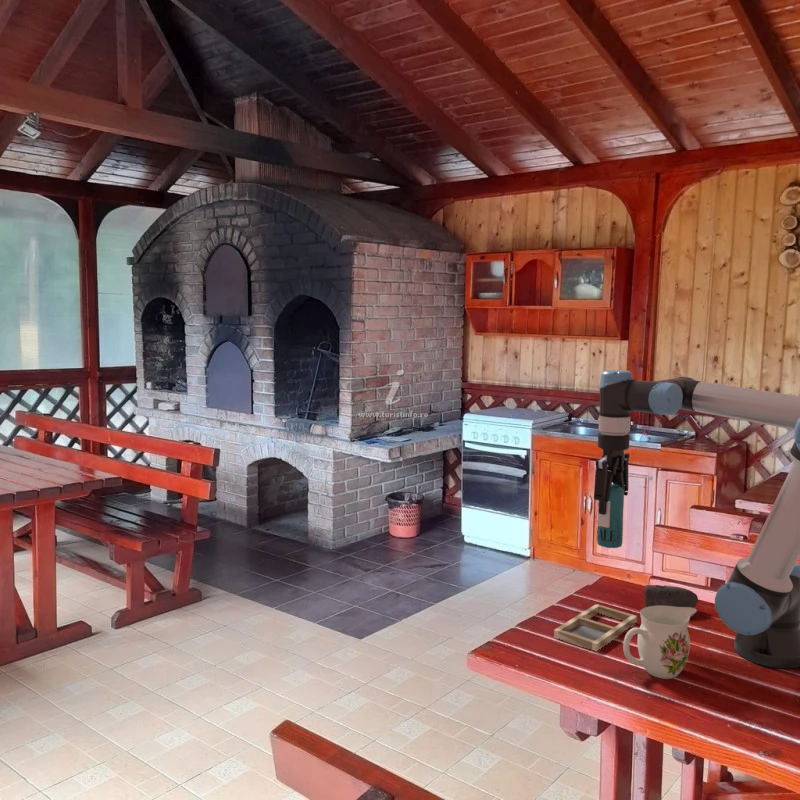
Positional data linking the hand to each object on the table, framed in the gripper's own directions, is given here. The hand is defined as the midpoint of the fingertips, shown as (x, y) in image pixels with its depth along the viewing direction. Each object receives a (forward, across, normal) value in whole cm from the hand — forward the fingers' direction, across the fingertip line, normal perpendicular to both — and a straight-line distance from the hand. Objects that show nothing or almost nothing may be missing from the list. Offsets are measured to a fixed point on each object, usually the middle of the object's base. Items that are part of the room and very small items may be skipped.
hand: (610, 523), depth 188 cm
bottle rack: (+27, +5, 0) cm, 27 cm away
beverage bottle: (+7, 0, 0) cm, 7 cm away
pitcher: (+27, +15, +20) cm, 37 cm away
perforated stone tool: (+27, -19, +8) cm, 34 cm away
